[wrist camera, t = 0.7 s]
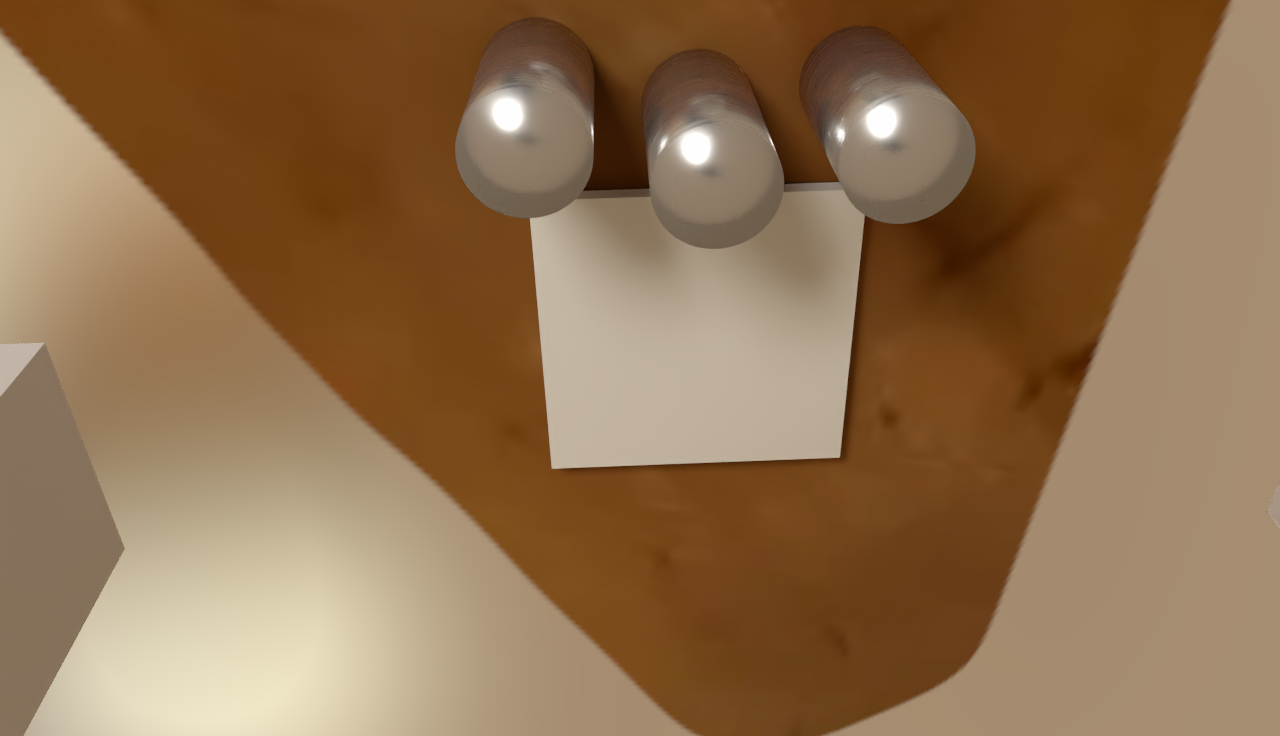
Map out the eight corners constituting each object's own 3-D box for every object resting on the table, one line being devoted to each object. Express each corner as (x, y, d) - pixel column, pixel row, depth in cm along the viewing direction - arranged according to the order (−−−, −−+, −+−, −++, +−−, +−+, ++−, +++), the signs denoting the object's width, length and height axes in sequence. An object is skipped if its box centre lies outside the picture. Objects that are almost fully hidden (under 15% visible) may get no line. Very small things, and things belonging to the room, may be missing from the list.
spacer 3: (803, 27, 29) (845, 97, 24) (918, 23, 29) (985, 93, 24) (796, 138, 31) (834, 226, 25) (904, 135, 31) (965, 221, 26)
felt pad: (529, 192, 31) (528, 200, 31) (862, 181, 31) (867, 189, 31) (552, 457, 37) (551, 468, 36) (836, 447, 37) (839, 457, 36)
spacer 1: (474, 19, 28) (447, 89, 23) (591, 15, 28) (590, 84, 23) (486, 132, 30) (463, 220, 25) (597, 128, 30) (596, 215, 25)
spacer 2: (640, 50, 29) (648, 125, 24) (755, 47, 29) (788, 121, 24) (642, 159, 31) (651, 251, 26) (750, 156, 31) (780, 246, 26)
